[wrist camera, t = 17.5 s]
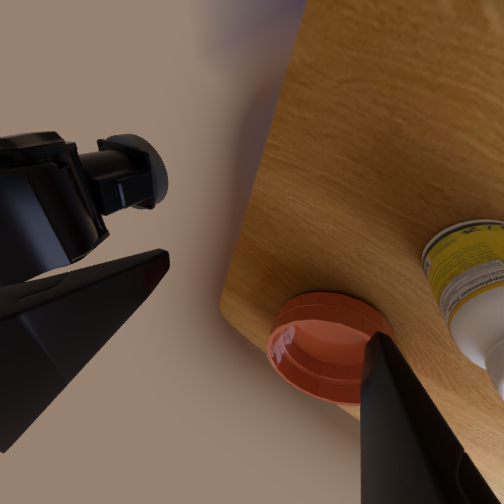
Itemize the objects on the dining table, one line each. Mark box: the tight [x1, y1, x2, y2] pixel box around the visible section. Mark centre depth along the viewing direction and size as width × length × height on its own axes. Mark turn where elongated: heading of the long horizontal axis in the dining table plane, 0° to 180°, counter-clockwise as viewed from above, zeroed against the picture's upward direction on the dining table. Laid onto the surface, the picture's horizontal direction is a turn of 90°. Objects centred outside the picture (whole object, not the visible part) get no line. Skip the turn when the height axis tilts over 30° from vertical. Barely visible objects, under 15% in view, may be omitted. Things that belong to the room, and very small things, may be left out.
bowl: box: [266, 292, 397, 406], centre depth 25 cm, size 13×13×4 cm
